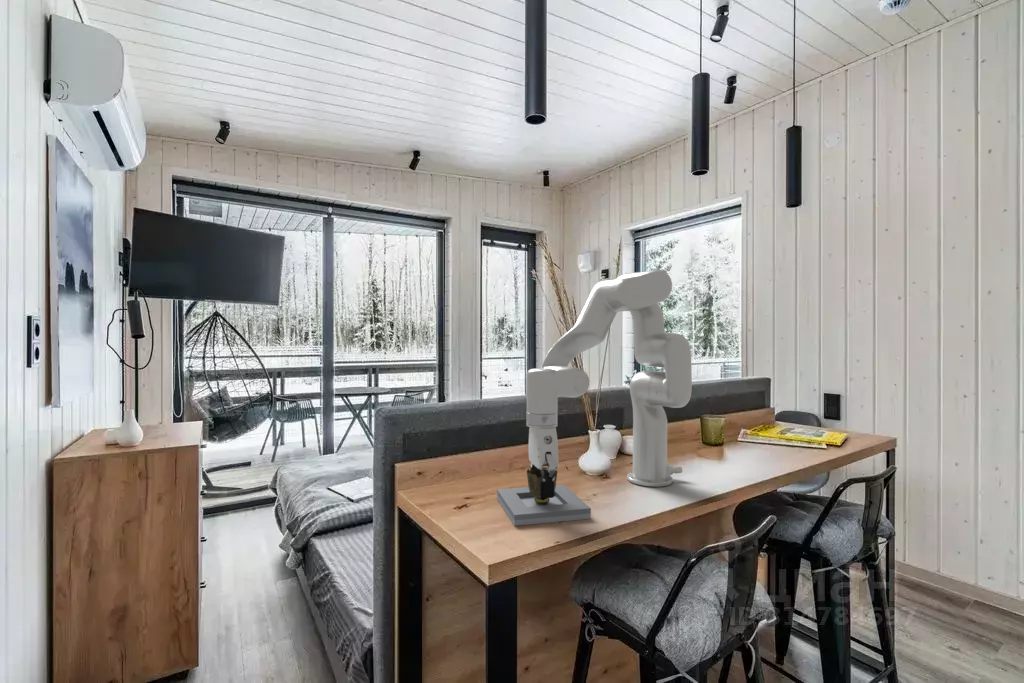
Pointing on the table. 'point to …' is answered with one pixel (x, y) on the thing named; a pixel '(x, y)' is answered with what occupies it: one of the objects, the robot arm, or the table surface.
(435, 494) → the table surface
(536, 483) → the cup
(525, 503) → the display stand
